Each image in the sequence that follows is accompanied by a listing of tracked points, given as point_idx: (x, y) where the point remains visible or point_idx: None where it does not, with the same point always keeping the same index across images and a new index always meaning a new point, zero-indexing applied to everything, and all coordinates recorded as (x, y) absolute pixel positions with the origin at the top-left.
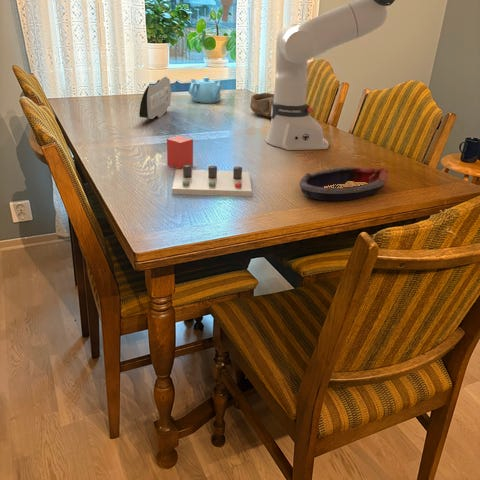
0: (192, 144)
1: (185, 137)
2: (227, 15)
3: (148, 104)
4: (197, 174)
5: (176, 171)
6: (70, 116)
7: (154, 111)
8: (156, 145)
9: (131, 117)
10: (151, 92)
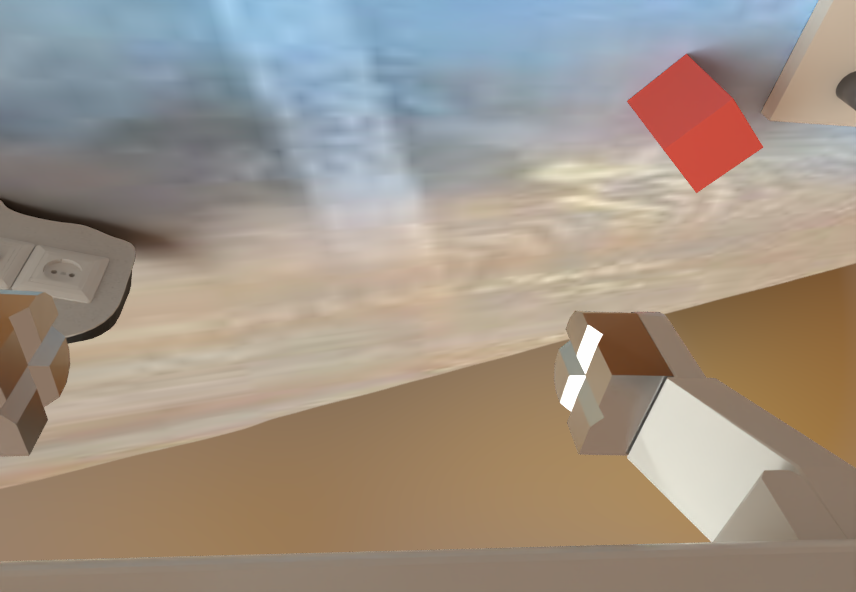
0: (723, 91)
1: (699, 128)
2: (712, 389)
3: (114, 284)
4: (850, 50)
5: (789, 120)
6: (122, 435)
7: (45, 237)
8: (436, 184)
9: None
10: None
